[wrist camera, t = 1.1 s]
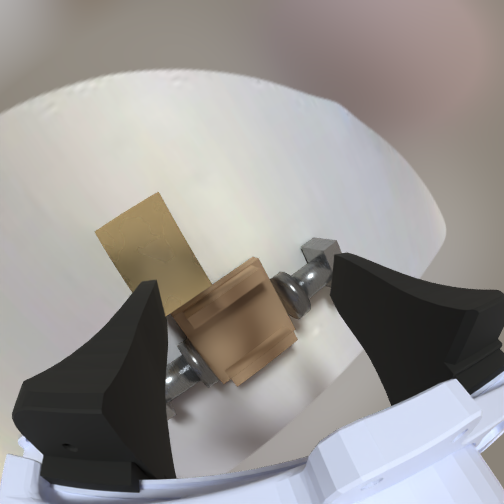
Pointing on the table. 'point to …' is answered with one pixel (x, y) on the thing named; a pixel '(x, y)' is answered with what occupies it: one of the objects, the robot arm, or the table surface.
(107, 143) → the table surface
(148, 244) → the block
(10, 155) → the table surface
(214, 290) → the shaft stand
